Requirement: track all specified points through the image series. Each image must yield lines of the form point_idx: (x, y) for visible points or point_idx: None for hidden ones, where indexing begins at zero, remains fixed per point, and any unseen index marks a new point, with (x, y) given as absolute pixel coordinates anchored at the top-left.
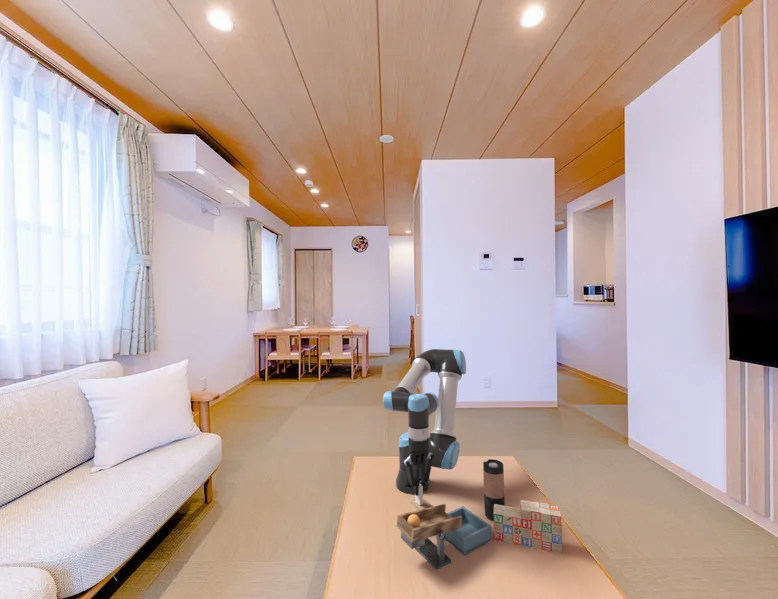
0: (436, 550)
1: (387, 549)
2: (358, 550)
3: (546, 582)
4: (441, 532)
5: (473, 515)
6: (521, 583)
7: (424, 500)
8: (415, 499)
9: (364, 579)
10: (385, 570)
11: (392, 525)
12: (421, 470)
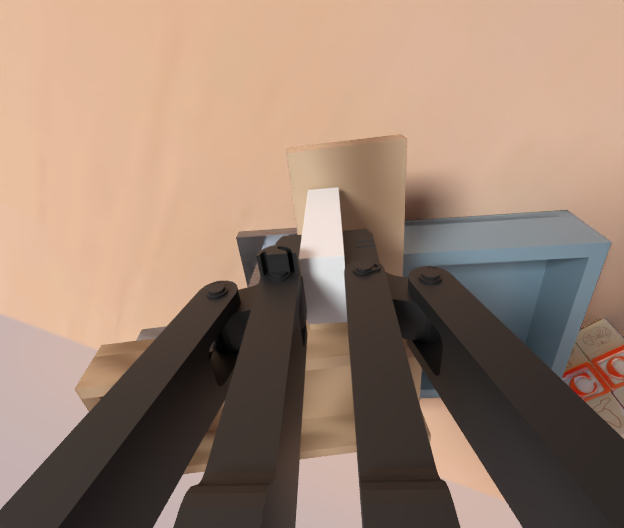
0: (306, 318)
1: (136, 213)
2: (7, 159)
3: (488, 475)
4: None
5: (568, 322)
6: (436, 457)
7: (394, 180)
8: (307, 198)
9: (37, 292)
10: (110, 292)
11: (203, 61)
12: (357, 456)
